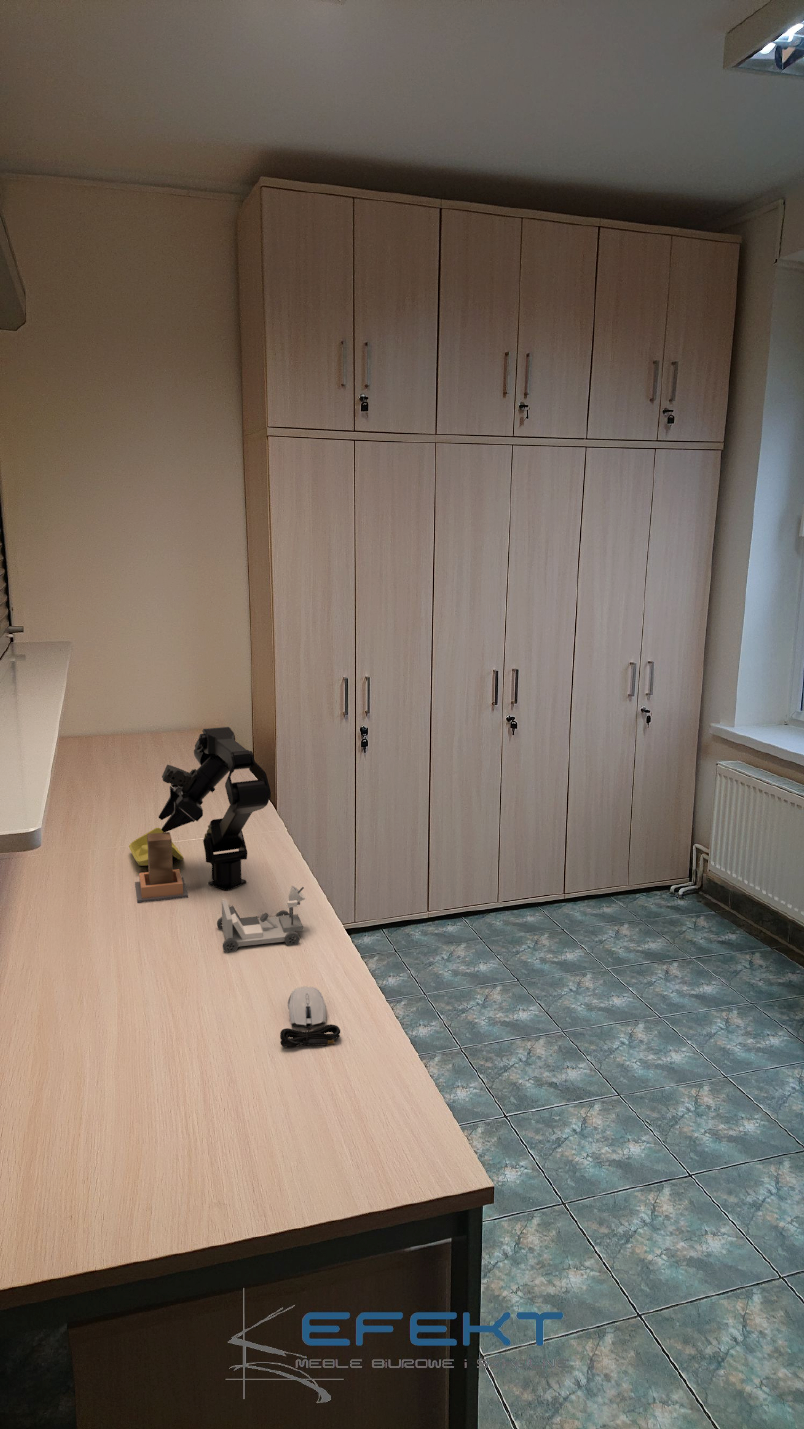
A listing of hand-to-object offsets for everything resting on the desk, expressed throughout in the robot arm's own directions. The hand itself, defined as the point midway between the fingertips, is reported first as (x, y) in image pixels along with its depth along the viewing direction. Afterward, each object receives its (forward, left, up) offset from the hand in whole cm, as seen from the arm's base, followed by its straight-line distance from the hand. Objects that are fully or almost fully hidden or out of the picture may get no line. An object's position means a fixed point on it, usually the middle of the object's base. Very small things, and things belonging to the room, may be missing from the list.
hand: (161, 824), depth 217 cm
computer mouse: (-68, +27, -14) cm, 74 cm away
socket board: (-5, +5, -14) cm, 15 cm away
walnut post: (-5, +5, -13) cm, 15 cm away
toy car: (-39, +8, -14) cm, 43 cm away
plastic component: (+10, -6, -14) cm, 18 cm away
